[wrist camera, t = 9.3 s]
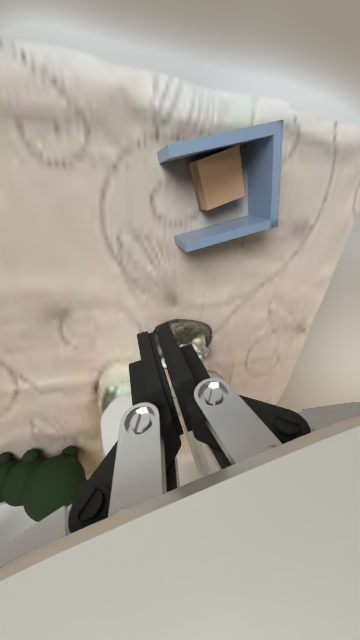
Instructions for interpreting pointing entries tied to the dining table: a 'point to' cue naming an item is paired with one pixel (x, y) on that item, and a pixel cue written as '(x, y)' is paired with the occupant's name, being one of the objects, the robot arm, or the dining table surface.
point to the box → (261, 181)
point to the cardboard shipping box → (218, 178)
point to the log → (187, 336)
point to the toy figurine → (41, 481)
